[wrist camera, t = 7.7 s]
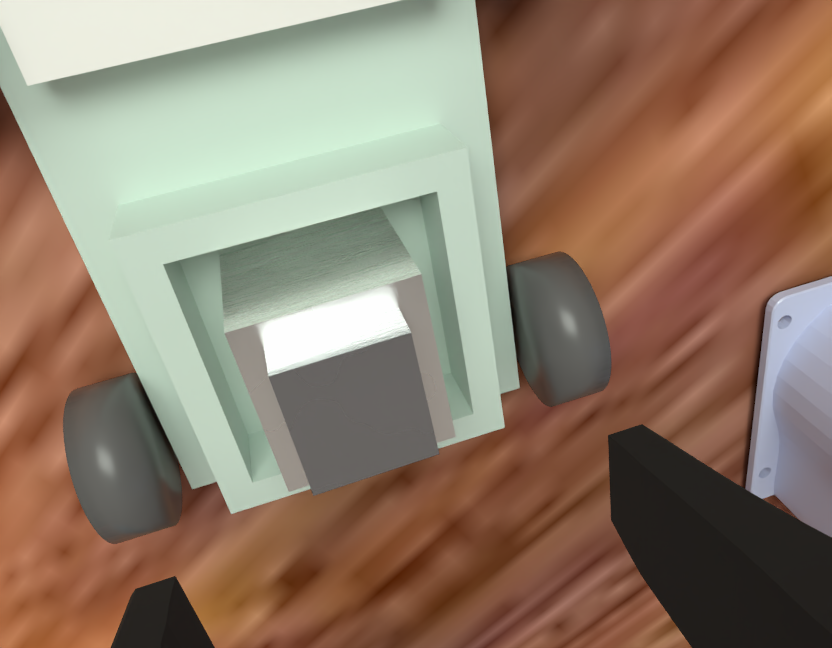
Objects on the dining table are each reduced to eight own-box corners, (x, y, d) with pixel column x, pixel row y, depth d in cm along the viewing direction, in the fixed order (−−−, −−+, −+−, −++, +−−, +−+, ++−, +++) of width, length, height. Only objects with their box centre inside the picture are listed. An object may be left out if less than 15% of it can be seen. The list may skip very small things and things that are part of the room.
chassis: (552, 356, 23) (613, 434, 19) (141, 481, 21) (131, 590, 18) (498, -293, 14) (592, -356, 11) (-202, -170, 12) (-347, -198, 9)
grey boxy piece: (412, 347, 20) (469, 465, 16) (273, 391, 19) (293, 524, 15) (378, 203, 18) (435, 296, 13) (219, 249, 17) (226, 361, 13)
